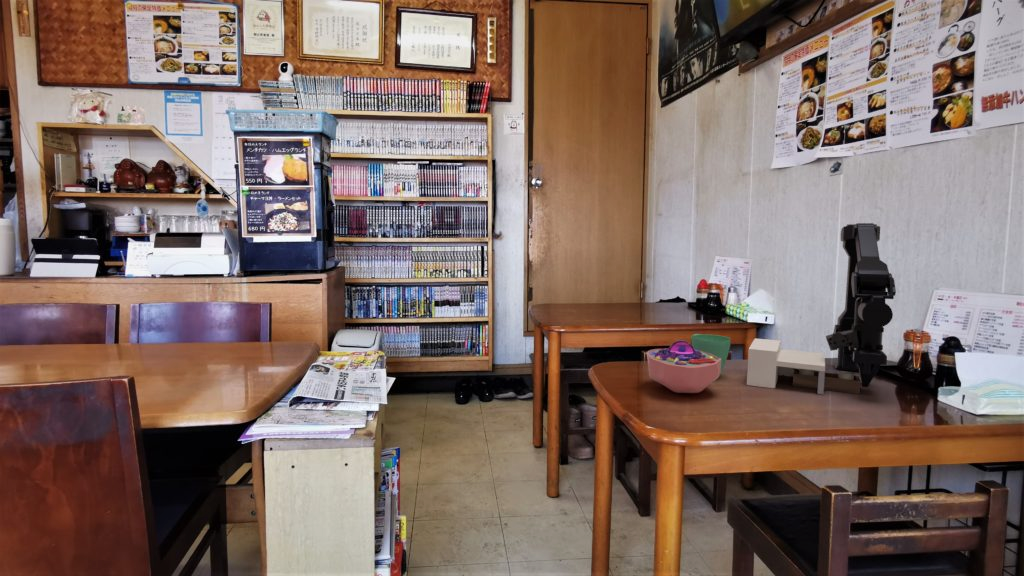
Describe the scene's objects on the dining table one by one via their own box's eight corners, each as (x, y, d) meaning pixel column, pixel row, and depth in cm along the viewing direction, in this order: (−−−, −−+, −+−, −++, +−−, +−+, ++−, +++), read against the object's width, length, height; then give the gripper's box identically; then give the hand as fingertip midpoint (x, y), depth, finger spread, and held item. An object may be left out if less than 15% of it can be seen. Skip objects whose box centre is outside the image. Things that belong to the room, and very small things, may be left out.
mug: (736, 379, 143) (738, 341, 142) (700, 380, 142) (702, 341, 141) (709, 366, 157) (710, 331, 156) (675, 367, 156) (677, 331, 155)
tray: (793, 380, 143) (794, 365, 143) (857, 388, 136) (858, 371, 136) (792, 386, 138) (793, 369, 137) (859, 394, 131) (860, 377, 131)
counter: (753, 371, 152) (754, 338, 151) (822, 379, 145) (824, 344, 144) (746, 384, 138) (748, 348, 137) (823, 394, 130) (825, 356, 130)
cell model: (641, 398, 126) (643, 348, 125) (647, 377, 145) (649, 333, 144) (722, 406, 121) (724, 354, 120) (717, 383, 140) (719, 338, 139)
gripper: (828, 314, 144) (824, 374, 145) (830, 324, 127) (826, 391, 129) (879, 317, 139) (876, 379, 140) (889, 327, 122) (884, 398, 124)
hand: (864, 386), depth 133 cm, fingers closed, pressing on tray
